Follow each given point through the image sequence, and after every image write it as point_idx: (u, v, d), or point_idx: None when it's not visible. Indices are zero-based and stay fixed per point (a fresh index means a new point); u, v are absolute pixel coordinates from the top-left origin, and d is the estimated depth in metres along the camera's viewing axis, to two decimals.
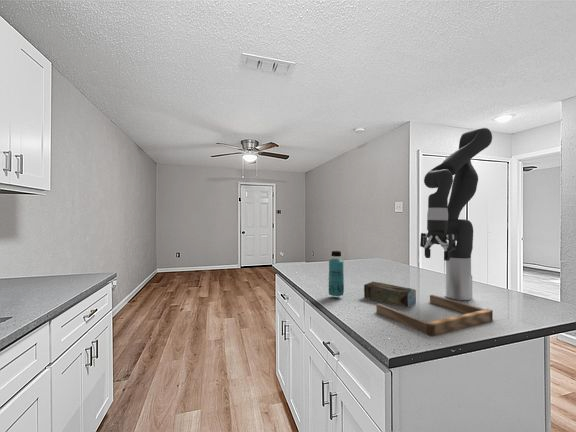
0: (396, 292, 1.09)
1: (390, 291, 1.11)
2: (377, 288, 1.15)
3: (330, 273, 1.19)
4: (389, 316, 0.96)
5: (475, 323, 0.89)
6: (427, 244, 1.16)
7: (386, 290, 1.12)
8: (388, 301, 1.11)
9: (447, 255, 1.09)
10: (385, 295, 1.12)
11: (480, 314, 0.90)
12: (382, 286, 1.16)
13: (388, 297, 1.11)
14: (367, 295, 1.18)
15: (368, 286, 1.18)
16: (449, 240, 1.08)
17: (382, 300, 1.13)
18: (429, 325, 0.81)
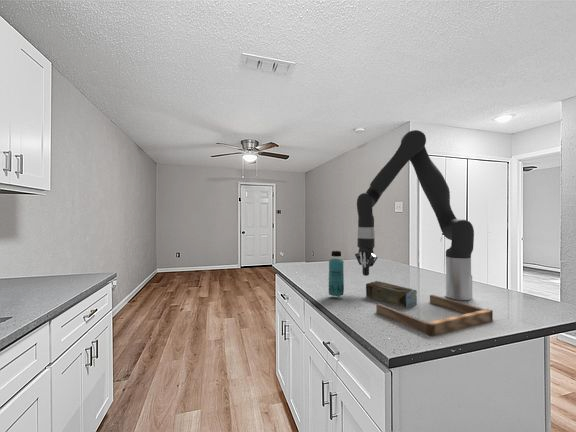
0: (395, 292, 1.09)
1: (390, 291, 1.11)
2: (378, 287, 1.16)
3: (330, 273, 1.19)
4: (389, 316, 0.96)
5: (475, 323, 0.89)
6: (362, 261, 1.28)
7: (386, 290, 1.13)
8: (388, 301, 1.12)
9: (366, 271, 1.26)
10: (385, 295, 1.13)
11: (480, 314, 0.90)
12: (383, 286, 1.16)
13: (387, 297, 1.12)
14: (368, 294, 1.20)
15: (369, 285, 1.19)
16: (370, 260, 1.23)
17: (382, 299, 1.14)
18: (429, 325, 0.81)
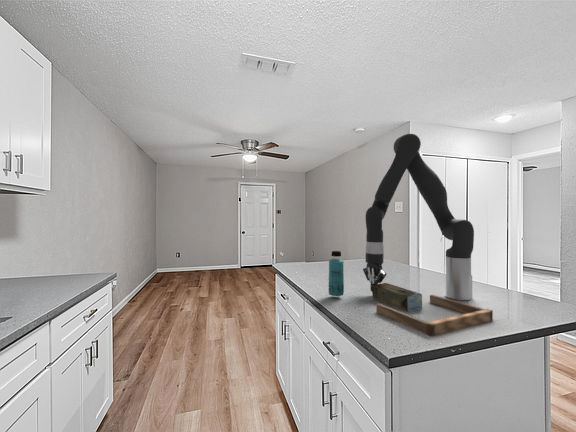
0: (398, 294, 1.06)
1: (393, 293, 1.08)
2: (382, 289, 1.13)
3: (330, 273, 1.19)
4: (389, 316, 0.96)
5: (475, 323, 0.89)
6: (370, 277, 1.23)
7: (389, 292, 1.10)
8: (391, 303, 1.09)
9: None
10: (389, 297, 1.10)
11: (480, 314, 0.90)
12: (388, 288, 1.13)
13: (391, 299, 1.09)
14: (374, 296, 1.17)
15: (375, 287, 1.17)
16: (378, 276, 1.18)
17: (386, 302, 1.11)
18: (429, 325, 0.81)
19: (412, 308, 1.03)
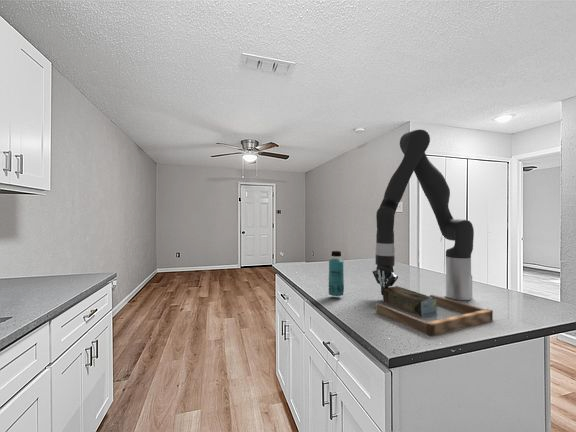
0: (410, 299, 1.00)
1: (405, 297, 1.02)
2: (394, 293, 1.07)
3: (330, 273, 1.19)
4: (389, 316, 0.96)
5: (475, 323, 0.89)
6: (380, 280, 1.17)
7: (401, 296, 1.04)
8: (403, 308, 1.03)
9: None
10: (400, 301, 1.04)
11: (480, 314, 0.90)
12: (400, 291, 1.07)
13: (403, 304, 1.03)
14: (385, 300, 1.12)
15: (386, 290, 1.11)
16: (390, 279, 1.13)
17: (398, 306, 1.05)
18: (429, 325, 0.81)
19: (426, 313, 0.97)
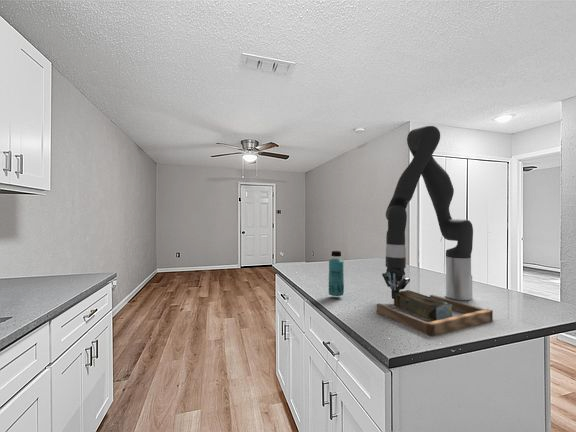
0: (424, 304, 0.95)
1: (418, 303, 0.97)
2: (406, 298, 1.02)
3: (330, 273, 1.19)
4: (389, 316, 0.96)
5: (475, 323, 0.89)
6: (391, 283, 1.12)
7: (414, 301, 0.99)
8: (416, 314, 0.98)
9: None
10: (413, 307, 0.99)
11: (480, 314, 0.90)
12: (413, 296, 1.02)
13: (416, 309, 0.98)
14: (396, 304, 1.07)
15: (397, 295, 1.06)
16: (401, 282, 1.07)
17: (411, 312, 1.00)
18: (429, 325, 0.81)
19: None
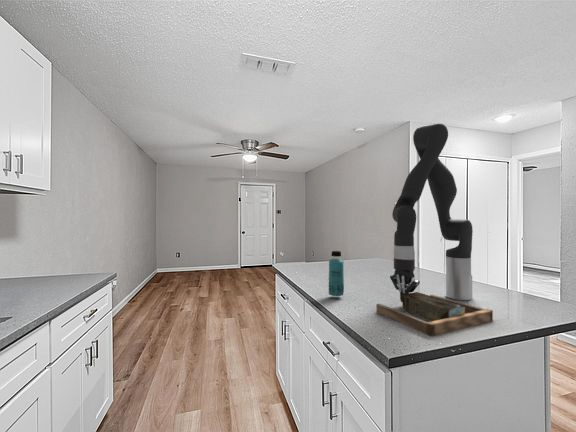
0: (436, 307, 0.91)
1: (429, 305, 0.93)
2: (415, 300, 0.98)
3: (330, 273, 1.19)
4: (389, 316, 0.96)
5: (475, 323, 0.89)
6: (399, 285, 1.08)
7: (425, 303, 0.94)
8: (427, 317, 0.94)
9: None
10: (424, 309, 0.95)
11: (480, 314, 0.90)
12: (423, 298, 0.98)
13: (426, 312, 0.94)
14: (405, 307, 1.02)
15: (406, 297, 1.02)
16: (411, 285, 1.04)
17: (421, 315, 0.96)
18: (429, 325, 0.81)
19: None
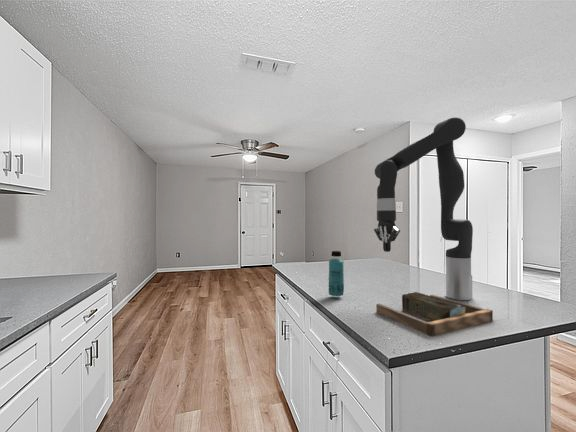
0: (437, 307, 0.91)
1: (430, 305, 0.93)
2: (416, 300, 0.98)
3: (330, 273, 1.19)
4: (389, 316, 0.96)
5: (475, 323, 0.89)
6: (382, 236, 1.16)
7: (425, 304, 0.94)
8: (428, 317, 0.93)
9: (387, 246, 1.15)
10: (424, 310, 0.94)
11: (480, 314, 0.90)
12: (423, 298, 0.98)
13: (427, 312, 0.94)
14: (405, 307, 1.02)
15: (406, 297, 1.01)
16: (392, 234, 1.12)
17: (421, 315, 0.96)
18: (429, 325, 0.81)
19: None
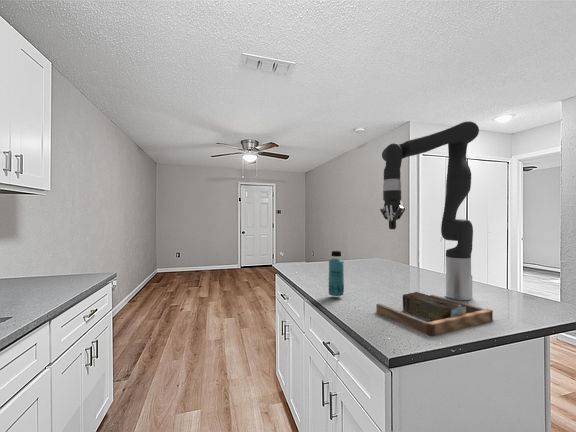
0: (437, 307, 0.91)
1: (431, 305, 0.93)
2: (416, 300, 0.98)
3: (330, 273, 1.19)
4: (389, 316, 0.96)
5: (475, 323, 0.89)
6: (388, 214, 1.24)
7: (426, 303, 0.94)
8: (429, 317, 0.94)
9: (393, 224, 1.23)
10: (425, 309, 0.95)
11: (480, 314, 0.90)
12: (423, 298, 0.98)
13: (428, 312, 0.94)
14: (405, 307, 1.02)
15: (407, 297, 1.02)
16: (397, 212, 1.20)
17: (422, 315, 0.96)
18: (429, 325, 0.81)
19: None
